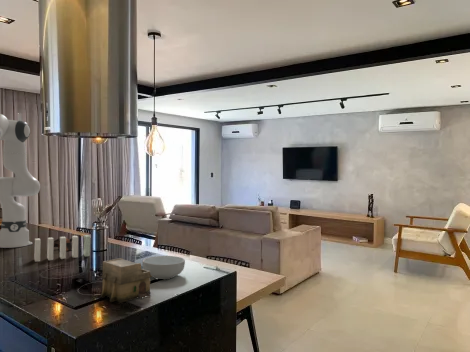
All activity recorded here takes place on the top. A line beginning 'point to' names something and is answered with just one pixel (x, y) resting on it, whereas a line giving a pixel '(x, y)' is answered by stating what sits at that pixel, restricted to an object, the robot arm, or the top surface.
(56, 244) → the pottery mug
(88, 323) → the top surface
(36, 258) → the domino
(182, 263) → the cereal bowl
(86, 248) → the domino
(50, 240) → the domino
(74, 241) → the domino
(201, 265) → the top surface
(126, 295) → the miniature house
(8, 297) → the top surface
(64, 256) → the domino
